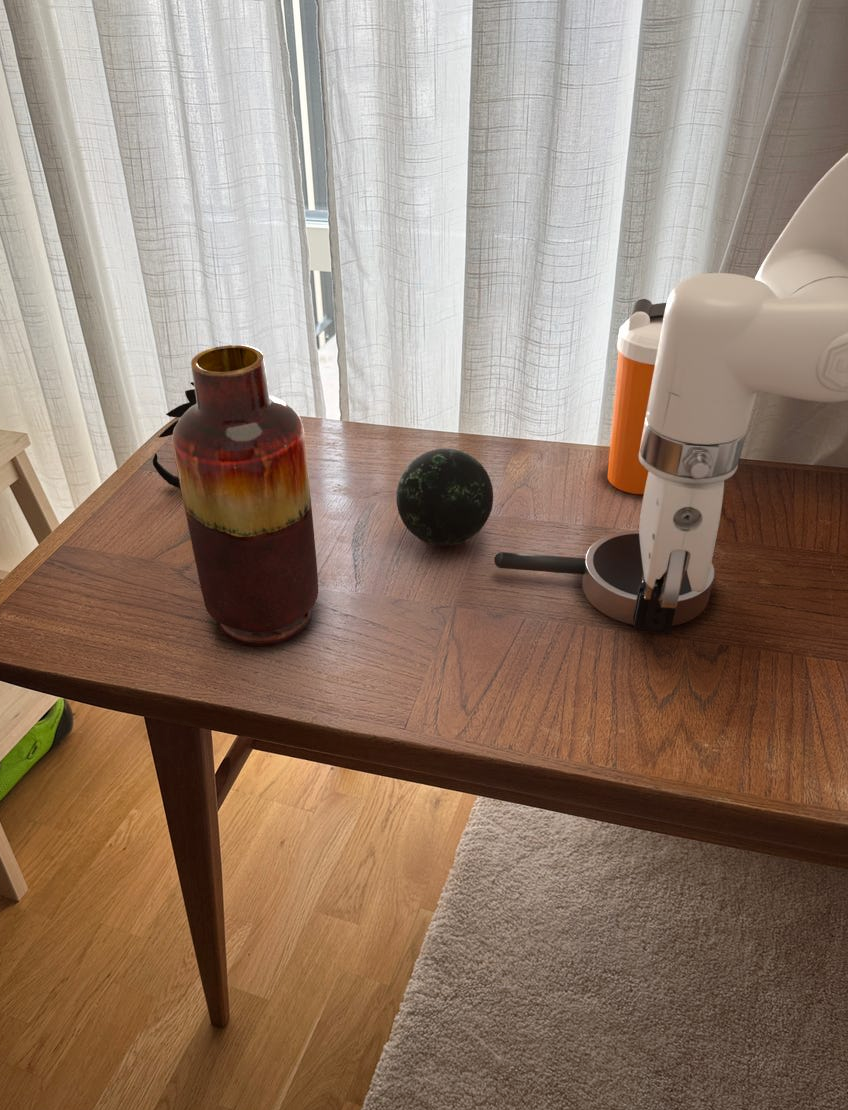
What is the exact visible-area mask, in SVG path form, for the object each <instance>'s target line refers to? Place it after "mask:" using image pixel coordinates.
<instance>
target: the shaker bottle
mask: <svg viewBox="0 0 848 1110" xmlns="http://www.w3.org/2000/svg"><path fill="white" fill-rule="evenodd" d="M666 303H667V302H661V303H659V302H658V303H652V301H651V300H650V299H648V298H639V299H637V300H636V301H635V302H634V304H633V305H632V309H631V312H630V317H629V318H628V319H627V320H626V321H625V322H624V323H623V324H622V325H621V326H620V327H619V330H618V336H617V343H616V350H617V365H616V376H615V385H614V386H615V387H614V399H613V410H612V421H611V431H610V432H611V434H610V444H609V446H610V447H609V456H608V467H607V480H608V482H609V483H610V484H611V486H613V487H614V488H616V489H617V490H620V491H622V492H624V493H628V494H632V495H644V491H645V486H646V481H647V477H648V472H649V471H648V470H647V469H645V467H644V466H643V465H642V464H641V463H640V461H639V451H640V445H641V439H642V434H643V428H644V423H645V418H646V412H647V406H648V401H649V395H650V390H651V385H652V379H653V374H654V368H655V363H656V357H657V351H658V346H659V340H660V334H661V329H662V323H663V318H664V312H665V308H666Z"/></svg>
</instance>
